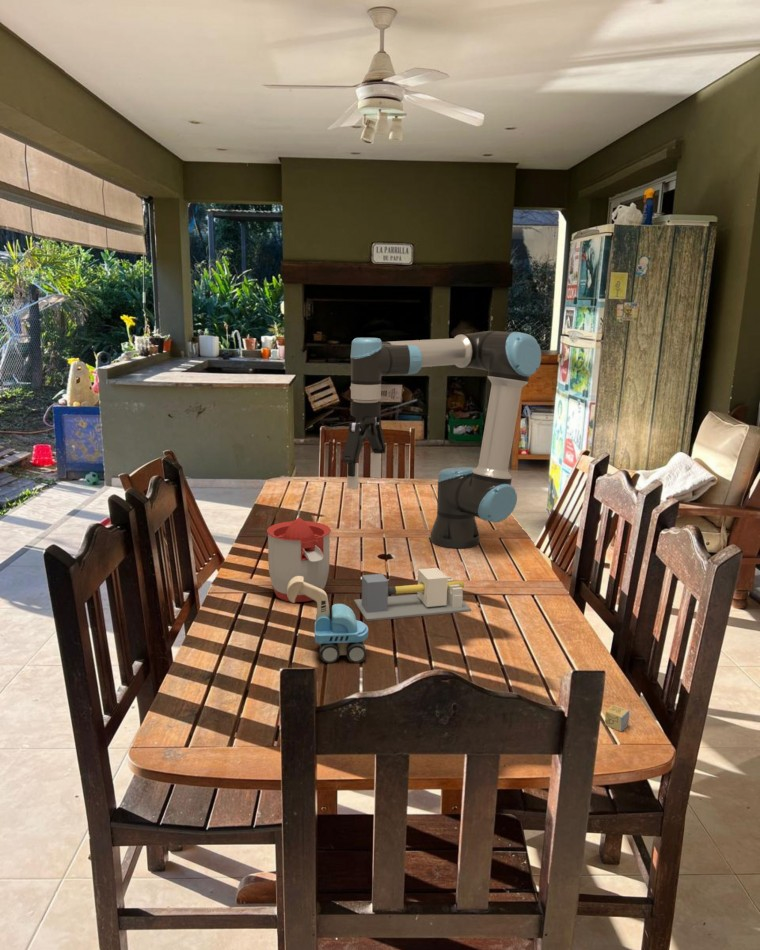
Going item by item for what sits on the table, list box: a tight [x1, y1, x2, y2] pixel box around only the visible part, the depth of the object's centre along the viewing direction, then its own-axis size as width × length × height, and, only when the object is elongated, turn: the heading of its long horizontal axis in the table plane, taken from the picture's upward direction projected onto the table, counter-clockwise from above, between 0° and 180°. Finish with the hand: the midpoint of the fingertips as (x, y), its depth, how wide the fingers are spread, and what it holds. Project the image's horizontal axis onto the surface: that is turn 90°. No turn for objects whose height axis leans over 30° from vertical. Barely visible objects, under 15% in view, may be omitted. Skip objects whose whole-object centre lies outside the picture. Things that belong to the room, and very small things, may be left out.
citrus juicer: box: [266, 517, 332, 603], centre depth 186 cm, size 16×17×20 cm
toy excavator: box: [287, 576, 369, 664], centre depth 156 cm, size 9×17×17 cm, turn 95°
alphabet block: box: [604, 704, 631, 732], centre depth 133 cm, size 3×3×3 cm
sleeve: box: [416, 567, 448, 607], centre depth 184 cm, size 5×7×7 cm
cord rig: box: [353, 573, 473, 622], centre depth 182 cm, size 26×12×8 cm, turn 106°
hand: (364, 483), depth 194 cm, fingers open, 13 cm apart
